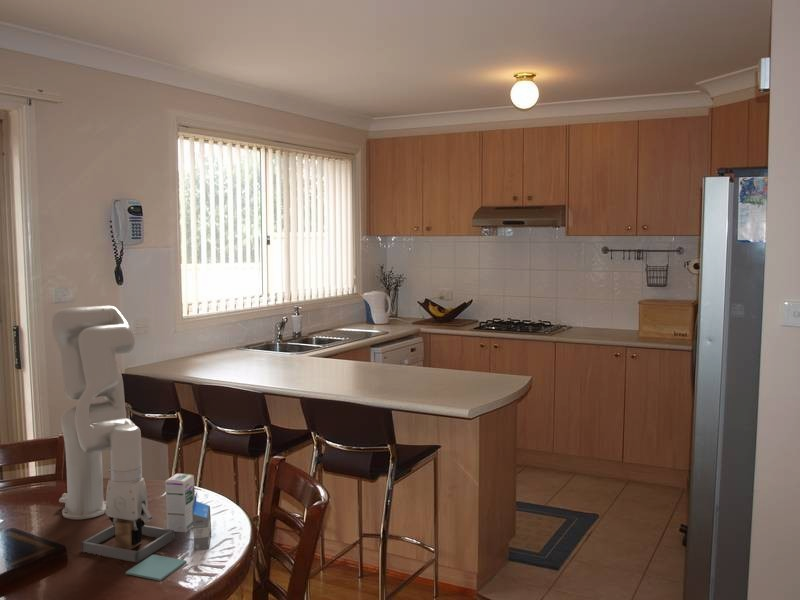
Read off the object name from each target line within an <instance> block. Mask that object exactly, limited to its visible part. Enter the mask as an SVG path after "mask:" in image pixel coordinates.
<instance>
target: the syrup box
mask: <svg viewBox="0 0 800 600" xmlns="http://www.w3.org/2000/svg"><path fill="white" fill-rule="evenodd" d="M195 495H196V490H195V475H194V474H190V473H175V474H174V475H173V476H171V477H169V478H168V479H166V480H165V503H166V505H165V506H166V507H165V508H166V526H167V527H166V529H170V530H174V533H184V534H185V533H188V531H189V530H191V529H193V516H192V505H193V501H194V498H195ZM194 503H195V502H194Z"/></svg>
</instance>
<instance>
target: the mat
mask: <svg viewBox="0 0 800 600" xmlns="http://www.w3.org/2000/svg"><path fill="white" fill-rule="evenodd" d="M186 564H187V560H186V559H181V558H180V559H179V558H175V557H169V556H163V555H159V554H153V553H152V554H150V555H149V556H147V557H146V558H144V559H142V560H141V561H139V562H138V563H137V564H136V565H134V566H133V567H131V568H129V569H128V570H127V571H125V575H130V576H135V577H138V578H139V577H140V578H144V579H148V580H149V579H150V580H154V581H159V582H161V581H162V580H163V579H165V578H167V577H168V576H170V575H171V574H172V573H174V572H176V571H177V570H178V569H180V568H182V566H183V565H186Z"/></svg>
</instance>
